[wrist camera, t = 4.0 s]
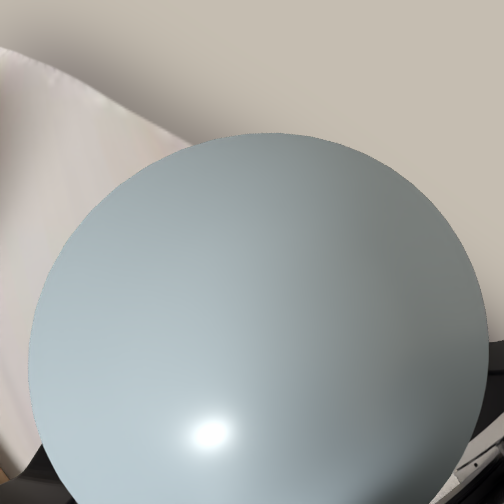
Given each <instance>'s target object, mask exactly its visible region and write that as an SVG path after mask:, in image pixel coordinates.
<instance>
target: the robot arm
mask: <svg viewBox="0 0 504 504" xmlns="http://www.w3.org/2000/svg"><path fill="white" fill-rule="evenodd" d="M453 474H454V476H456V477H457V479H458V481H459V482H460V484H459V485H458V486H456V487H455V488H454V489H453V490H452V491H450V492H449V493H448V494H447V495H446V496H444V497H443V498H442V499H440V500H439V501H438V502H437V503H435V504H504V340H502V341H498V342H489V362H488V373H487V382H486V388H485V393H484V398H483V402H482V406H481V410H480V414H479V417H478V420H477V423H476V426H475V428H474V431H473V434H472V436H471V438H470V441H469V443H468V445H467V447H466V449H465V451H464V454H463V456H462V457H461V459H460V461H459V463H458V464H457V466H456V468H455V469H454V471H453ZM0 504H78V503H77V502H76V500H75V499H74V498H73V496H72V495H71V494H70V492H69V491H68V490H67V488H66V487H65V485H64V484H63V483H62V481H61V480H60V478H59V476H58V475H57V473H56V471H55V469H54V467H53V465H52V463H51V461H50V459H49V457H48V455H47V453H46V451H45V449H44V447H43V444H41V446H40V448H39V449H38V451H37V452H36V454H35V455H34V457H33V459H32V460H31V462H30V463H29V465H28V466H27V468H26V469H25V470H24V471H23V472H22V473H21V474H20V475H19V476H17V477H16V478H14V479H12V480H9V481H7V482H5V483H3V484H0Z"/></svg>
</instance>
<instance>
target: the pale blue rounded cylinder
mask: <svg viewBox="0 0 504 504" xmlns="http://www.w3.org/2000/svg"><path fill="white" fill-rule="evenodd" d="M488 339H489V337H488V327H487V318H486V312H485V307H484V302H483V298H482V293H481V289H480V286H479V284H478V280H477V277H476V275H475V272H474V269H473V267H472V264H471V262H470V260H469V258H468V256H467V254H466V251H465V250H464V247H463V246H462V244H461V242H460V241H459V239H458V237H457V235H456V234H455V233H454V231H453V230H452V228H451V226H450V225H449V223H448V222H447V220H446V219H445V218H444V217H443V216H442V214H441V213H440V212H439V211H438V209H437V208H436V207H435V206H434V205H433V203H432V202H431V201H430V200H429V199H428V198H427V197H426V196H425V195H424V194H423V193H421V192H420V191H419V190H418V189H417V188H416V187H415V186H414V185H413V184H412V183H410V182H409V181H408V180H406V179H405V178H404V177H402V176H401V175H400V174H398V173H397V172H395V171H394V170H393V169H391V168H390V167H388V166H386V165H384V164H383V163H381V162H379V161H377V160H376V159H374V158H372V157H370V156H368V155H366V154H364V153H361V152H359V151H357V150H354V149H351V148H349V147H346V146H344V145H341V144H338V143H334V142H331V141H326V140H323V139H319V138H314V137H310V136H302V135H293V134H283V133H261V134H244V135H238V136H232V137H226V138H219V139H214V140H211V141H207V142H204V143H201V144H198V145H194V146H191V147H188V148H185V149H182V150H180V151H178V152H175V153H173V154H171V155H169V156H167V157H165V158H163V159H161V160H159V161H157V162H155V163H153V164H151V165H149V166H147V167H145V168H144V169H142V170H141V171H139V172H138V173H136V174H135V175H133V176H132V177H131V178H129V179H128V180H126V181H125V182H123V183H122V184H120V185H119V186H118V187H117V188H115V189H114V190H113V191H112V192H111V193H110V194H109V195H108V196H107V197H105V198H104V199H103V200H102V201H101V202H100V203H99V204H98V205H97V206H96V207H95V208H94V209H93V210H92V211H91V212H90V213H89V214H88V215H87V216H86V218H85V219H84V220H83V221H82V223H81V224H80V225H79V226H78V228H77V229H76V230H75V231H74V233H73V234H72V235H71V237H70V238H69V239H68V241H67V242H66V244H65V245H64V247H63V249H62V251H61V252H60V254H59V256H58V258H57V259H56V261H55V263H54V265H53V267H52V268H51V270H50V272H49V274H48V277H47V279H46V282H45V284H44V287H43V290H42V293H41V295H40V298H39V301H38V304H37V307H36V310H35V315H34V320H33V325H32V330H31V336H30V342H29V360H28V382H29V390H30V397H31V404H32V410H33V415H34V419H35V422H36V425H37V429H38V432H39V435H40V438H41V441H42V444H43V447H44V449H45V451H46V453H47V455H48V457H49V459H50V461H51V463H52V465H53V467H54V469H55V471H56V473H57V475H58V476H59V478H60V480H61V481H62V483H63V484H64V485H65V487H66V488H67V490H68V491H69V492H70V494H71V495H72V496H73V498H74V499H75V500H76V502H77V503H78V504H429V503H430V502H431V501H432V499H433V498H434V497H435V496H436V495H437V493H438V492H439V491H440V490H441V488H442V487H443V486H444V484H445V483H446V481H447V480H448V479H449V477H450V476H451V474H452V473H453V471H454V469H455V468H456V466H457V464H458V463H459V461H460V459H461V457H462V456H463V454H464V451H465V449H466V447H467V445H468V443H469V441H470V438H471V436H472V434H473V431H474V428H475V426H476V423H477V420H478V417H479V414H480V410H481V406H482V402H483V398H484V393H485V388H486V382H487V373H488V362H489V340H488Z"/></svg>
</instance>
